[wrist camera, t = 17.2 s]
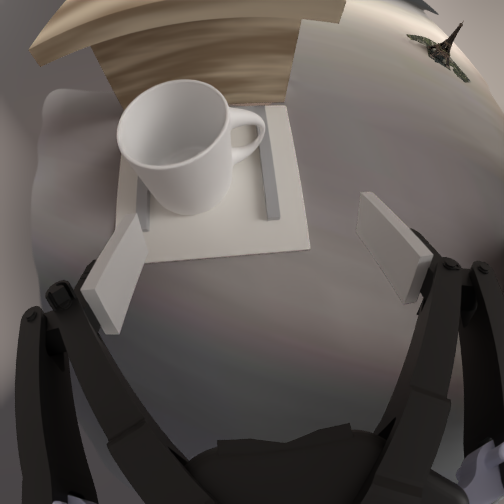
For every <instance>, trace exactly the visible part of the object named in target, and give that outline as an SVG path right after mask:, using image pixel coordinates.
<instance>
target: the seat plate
mask: <svg viewBox="0 0 504 504" xmlns="http://www.w3.org/2000/svg"><path fill="white" fill-rule="evenodd" d="M232 108H239V109H244V110H248V111H251V112H254V113H256V114H257V115H259V116H260V117H261V118H262V119H263V121H264V123H265V133H264V137H263V139H262V141H261V143H260V144H259V146H258V147H257V148H256V150H255V151H254V152H253V153H252V154H251V155H249V156H248V157H247V158H245V159H244V160H242V161H241V162H239V163H237V164H235V165H234V166H233V168H232V181H231V185H230V188H229V190H228V192H227V194H226V195H225V197H224V198H223V199H222V200H221V202H219V203H218V204H217V205H216V206H215V207H213V208H212V209H210V210H208V211H206V212H203V213H200V214H195V215H181V214H177V213H174V212H171V211H169V210H168V209H166V208H165V207H163V206H162V205H161V204H160V203H159V202H158V201H157V200H156V199H155V197H154V196H153V195H152V193H151V192H150V191H149V189H148V188H147V187H146V186H145V184H144V183H143V182H142V180H141V179H140V178H139V176H138V175H137V174H136V172H135V171H134V169H133V168H132V167H131V165H130V164H129V163H128V161H127V160H126V159H125V157H124V156H123V155H122V154H121V162H120V170H119V180H118V192H117V206H116V226H115V230H116V228H117V227H118V225H119V224H120V222H121V221H122V219H123V218H124V216H125V215H127V214H133V213H137V215H138V218H139V222H140V225H141V229H142V232H143V235H144V239H145V242H146V245H147V249H148V255H147V257H146V260H145V263H144V264H147V263H160V262H172V261H184V260H196V259H208V258H220V257H232V256H244V255H256V254H268V253H280V252H292V251H304V250H310V241H309V234H308V227H307V220H306V213H305V206H304V200H303V194H302V188H301V182H300V176H299V170H298V164H297V159H296V153H295V148H294V143H293V138H292V133H291V128H290V123H289V118H288V113H287V108H286V106H265V105H264V106H240V107H232ZM259 134H260V128H259V127H258V126H257V125H244V126H240V127H237V128H234V129H232V130H231V147H240V146H244V145H247V144H249V143H251V142H253V141H254V140H255V139H256V138H257V137H258V136H259Z"/></svg>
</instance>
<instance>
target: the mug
mask: <svg viewBox="0 0 504 504" xmlns="http://www.w3.org/2000/svg"><path fill="white" fill-rule="evenodd" d="M244 125H257V126H258V127H259V128H260V134H259V136H258V137H257V138H256V139H255V140H254V141H253V142H251V143H249V144H247V145H244V146H240V147H231V130H232V129H234V128H237V127H240V126H244ZM264 133H265V123H264V121H263V119H262V118H261V117H260V116H259V115H257V114H256V113H254V112H251V111H248V110H244V109H239V108H232V107H229V106H228V103H227V101H226V99H225V98H224V96H223V95H222V94H221V93H220V92H219V91H218V90H217V89H216V88H214V87H213V86H211V85H209V84H207V83H204V82H201V81H197V80H190V79H180V80H172V81H167V82H164V83H161V84H158V85H155V86H153V87H151V88H149V89H148V90H146V91H144V92H143V93H141V94H140V95H139V96H137V97H136V98H135V99H134V100H133V101H132V102H131V103H130V104H129V105H128V107H127V108H126V109H125V111H124V112H123V114H122V116H121V118H120V120H119V123H118V126H117V144H118V147H119V149H120V151H121V153H122V155H123V156H124V157H125V159H126V160H127V161H128V163H129V164H130V165H131V167H132V168H133V169H134V171H135V172H136V174H137V175H138V176H139V178H140V179H141V180H142V182H143V183H144V184H145V186H146V187H147V188H148V189H149V191H150V192H151V193H152V195H153V196H154V197H155V199H156V200H157V201H158V202H159V203H160V204H161V205H162V206H163V207H165V208H166V209H168V210H169V211H171V212H174V213H177V214H181V215H195V214H200V213H203V212H206V211H208V210H210V209H212V208H213V207H215V206H216V205H217V204H218V203H219V202H221V200H222V199H223V198H224V197H225V195H226V194H227V192H228V190H229V188H230V185H231V181H232V168H233V166H234V165H235V164H237V163H239V162H241V161H242V160H244V159H245V158H247V157H248V156H249V155H251V154H252V153H253V152H254V151H255V150H256V148H257V147H258V146H259V144H260V143H261V141H262V139H263V137H264Z"/></svg>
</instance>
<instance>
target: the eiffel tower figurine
mask: <svg viewBox="0 0 504 504" xmlns="http://www.w3.org/2000/svg"><path fill="white" fill-rule="evenodd" d="M462 26H463V24H462V23H460V25H459V26H458V27H457V29H456V30H455V31H454V32H453V33H452V35H451V36H450V37H449V38H448V39H447V40H445V41H444V42H442V43H440V44H439V43H438V44H436V43H435V42H433V41H432V40H430V39H428V38H425V37H422V36H416V35H408V34H407V35H408V36H409V38H410V39H411V40H415V41H418V42H420V43H422V44H424V45H426V46H427V49H428V55H429V57H430V58H432V59H433V60H435V62H437V63H440V64H441V65H443V66H444V67H446V68H448V69H449V70H450V66H452V67H454V69H453V71H454V73H455V74H456V75H457V76H458V77H459V78H460V79H462V80H463V81H464V82H471V81H470V80H469V79H468V78H467V76H466V75H465V74H464V73H463V72H462V71H461V69H460V68H459V67H458V66H457V65H456V64H455V62H454V61H453V60H452V59H451V58H450V57H449V56H450V49H451V46H452V43H453V41H454V39H455V37H456V35H457V33H458V32H459V30H460V28H461V27H462ZM445 47H446V48H445ZM449 65H450V66H449ZM450 71H451V70H450Z"/></svg>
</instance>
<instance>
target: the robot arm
mask: <svg viewBox="0 0 504 504" xmlns="http://www.w3.org/2000/svg"><path fill="white" fill-rule="evenodd" d="M356 233H357V234H358V236H359V237H360V239H361V240H362V242H363V243H364V244H365V246H366V247H367V249H368V250H369V252H370V253H371V255H372V256H373V257H374V259H375V260H376V262H377V263H378V265H379V266H380V268H381V269H382V271H383V273H384V274H385V276H386V277H387V279H388V280H389V282H390V283H391V285H392V287H393V288H394V290H395V291H396V293H397V295H398V296H399V298H400V300H401V301H402V303H403V304H404V305H405V304H409V303H414V302H416V301H417V299H418V296H419V294H420V293H421V294H422V296H423V297H424V298H423V301H422V303H421V306H420V308H419V310H418V312H417V315H418V319H417V323H416V327H415V330H414V334H413V337H412V340H411V344H410V347H409V350H408V353H407V356H406V359H405V362H404V365H403V368H402V371H401V374H400V376H399V379H398V382H397V384H396V387H395V390H394V392H393V395H392V397H391V399H390V402H389V404H388V407H387V409H386V411H385V413H384V416H383V418H382V420H381V421H380V423H379V425H378V426H377V428H376V429H375V431H374V433H370V432H367V431H362V430H351V426H350V423H347V424H343V425H339V426H334V427H330V428H325V429H320V430H317V431H315V432H312V433H310V434H308V435H305V436H303V437H300V438H298V439H295V440H293V441H290V442H287V443H280V442H271V441H263V440H256V439H239V440H217V447H215V448H212V449H209V450H206V451H204V452H202V453H200V454H198V455H197V456H195V457H194V458H192V459H191V460H190V461H189V460H188V459H187V458H186V457H185V456H184V455H183V454H182V453H181V452H180V451H179V450H178V449H177V448H176V447H175V445H174V444H173V443H172V442H171V441H170V440H169V438H168V437H167V436H166V435H165V433H164V432H163V431H162V430H161V428H160V427H159V426H158V424H157V423H156V422H155V421H154V419H153V418H152V417H151V415H150V414H149V412H148V411H147V410H146V408H145V407H144V406H143V404H142V403H141V401H140V400H139V398H138V397H137V396H136V394H135V393H134V391H133V390H132V388H131V387H130V385H129V384H128V382H127V380H126V379H125V377H124V376H123V374H122V372H121V371H120V369H119V368H118V366H117V364H116V363H115V361H114V359H113V358H112V356H111V354H110V352H109V351H108V349H107V347H106V345H105V343H104V342H103V340H102V338H101V336H100V335H99V333H98V331H99V329H100V326H101V328H102V329H103V331H104V332H105V334H120V331H121V328H122V325H123V322H124V319H125V315H126V312H127V309H128V307H129V304H130V301H131V298H132V295H133V292H134V289H135V287H136V284H137V281H138V278H139V276H140V273H141V270H142V268H143V265H144V263H145V260H146V257H147V255H148V249H147V245H146V242H145V239H144V235H143V232H142V229H141V225H140V222H139V218H138V215H137V213H133V214H127V215H125V216H124V218H123V219H122V221H121V222H120V224H119V225H118V227H117V228H116V230H115V231H114V233H113V235H112V236H111V238H110V239H109V241H108V243H107V244H106V246H105V247H104V249H103V251H102V252H101V254H100V256H99V257H98V259H97V260H93V261H92V262H91V263H90V264H89V265H88V266H87V267H86V269H85V271H84V272H83V274H82V276H81V278H80V279H79V281H78V283H77V285H76V286H75V288H74V290H73V289H72V287H71V285H70V283H69V282H68V281H65V280H63V281H59V282H57V283H55V284H53V285H52V286H51V287H50V288H49V289H48V290H47V292H46V296H45V298H46V299H47V301H48V302H49V304H50V306H51V307H52V309H53V311H50V312H47V313H44V312H43V311H42V309H41V308H40V307H38V306H35V307H31V308H30V309H28V310H27V311H26V312H25V313H24V315H23V316H22V319H21V324H20V331H19V339H18V348H17V359H16V377H15V378H16V379H15V412H16V413H15V415H16V430H17V441H18V450H19V458H20V464H21V470H22V475H23V481H22V504H98V499H97V494H96V490H95V486H94V483H93V479H92V476H91V473H90V470H89V467H88V463H87V459H86V456H85V452H84V448H83V444H82V440H81V436H80V431H79V427H78V422H77V417H76V412H75V406H74V400H73V393H72V386H71V378H70V369H69V358H70V361H71V363H72V366H73V368H74V371H75V373H76V376H77V378H78V380H79V383H80V385H81V387H82V389H83V392H84V394H85V396H86V398H87V400H88V402H89V404H90V406H91V408H92V410H93V412H94V414H95V416H96V418H97V420H98V422H99V424H100V426H101V427H102V429H103V431H104V433H105V434H106V436H107V438H108V441H109V442H108V443H107V447H108V449H109V451H110V453H111V455H112V457H113V458H114V460H115V461H116V463H117V465H118V466H119V468H120V469H121V471H122V472H123V474H124V475H125V477H126V478H127V479H128V481H129V482H130V484H131V485H132V487H133V488H134V489H135V491H136V492H137V493H138V495H139V496H140V497H141V499H142V500H143V501H144V502H145V504H490V503H492V502H493V501H495V500H496V499H498V498H499V497H501V496H503V495H504V297H503V294H502V292H501V289H500V286H499V284H498V281H497V279H496V276H495V274H494V272H493V270H492V268H491V267H490V266H489V265H488V264H486V263H485V262H481V261H475V262H474V263H473V265H472V267H471V269H463V268H461V266H460V265H459V263H458V262H456V261H455V260H453V259H451V258H447V257H441V256H440V254H439V253H438V252H437V251H436V250H435V249H434V248H433V247H432V246H431V245H430V244H429V242H428V241H427V240H425V238H424V237H423V236H422V235H421V234H420V233H419V232H417V231H415V230H414V229H412V228H411V229H409V228H408V227H407V226H406V225H405V224H404V223H403V222H402V220H401V219H400V218H399V217H398V216H397V215H396V214H395V213H394V212H392V211H391V210H390V209H389V208H388V207H387V206H386V205H385V204H384V203H383V202H382V201H381V200H380V199H379V198H378V197H377V196H376V195H375V194H374V193H373V192H361V193H360V203H359V211H358V219H357V227H356ZM458 331H459V338H460V346H461V355H462V366H463V381H464V442H463V445H464V458H465V459H464V460H463V462H462V465H461V467H460V468H459V469H458V470H457V473H456V478H457V480H458V481H459V482H458V484H455V483H454V482H452V481H450V480H448V479H447V478H445V477H443V476H441V475H440V474H438V473H436V472H435V471H433V470H431V467H432V464H433V462H434V459H435V456H436V454H437V451H438V448H439V445H440V442H441V439H442V436H443V433H444V429H445V426H446V423H447V419H448V415H449V412H450V407H451V401H450V400H449V399H447V392H448V388H449V383H450V379H451V374H452V369H453V363H454V357H455V351H456V344H457V337H458ZM68 355H69V358H68Z"/></svg>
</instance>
